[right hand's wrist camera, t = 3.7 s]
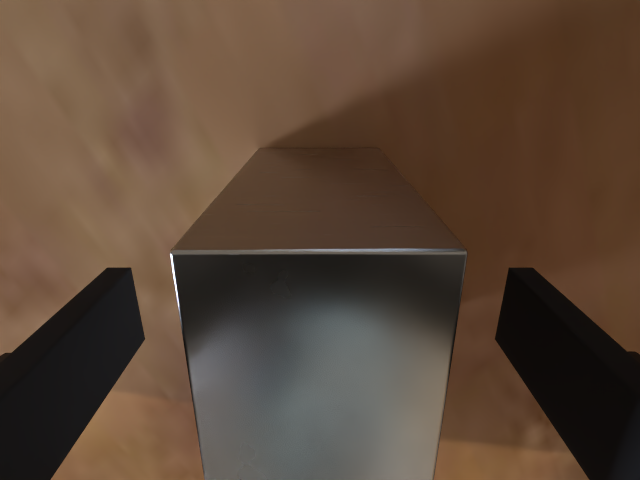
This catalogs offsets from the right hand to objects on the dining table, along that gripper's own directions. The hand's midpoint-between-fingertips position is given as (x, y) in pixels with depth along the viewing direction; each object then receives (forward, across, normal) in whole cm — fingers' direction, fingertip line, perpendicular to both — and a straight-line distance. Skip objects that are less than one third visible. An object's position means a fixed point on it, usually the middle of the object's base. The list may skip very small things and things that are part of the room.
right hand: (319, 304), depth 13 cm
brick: (+5, 0, 0) cm, 5 cm away
